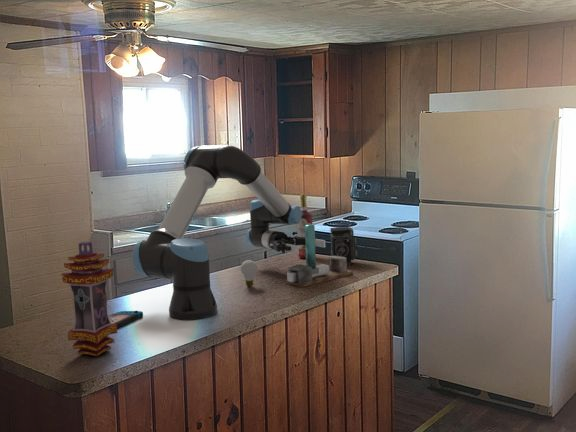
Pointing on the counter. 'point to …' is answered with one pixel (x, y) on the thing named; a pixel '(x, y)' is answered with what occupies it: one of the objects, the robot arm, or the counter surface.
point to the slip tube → (309, 256)
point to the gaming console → (124, 317)
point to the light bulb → (248, 271)
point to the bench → (336, 270)
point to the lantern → (89, 301)
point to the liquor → (303, 225)
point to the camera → (343, 243)
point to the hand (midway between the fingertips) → (311, 246)
